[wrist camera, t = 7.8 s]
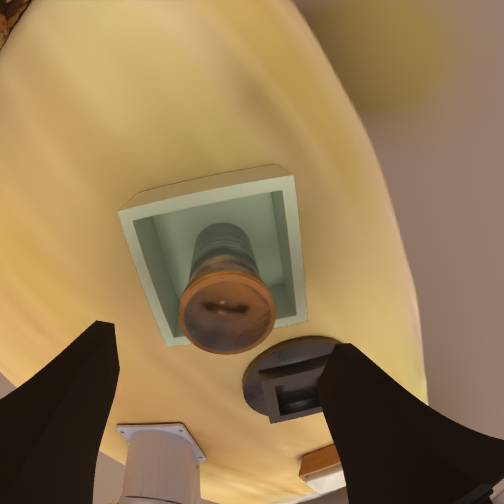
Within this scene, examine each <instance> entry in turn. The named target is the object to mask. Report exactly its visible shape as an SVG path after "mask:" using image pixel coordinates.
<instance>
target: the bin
mask: <svg viewBox="0 0 504 504" xmlns="http://www.w3.org/2000/svg"><path fill="white" fill-rule="evenodd" d="M118 215H119V218H120V221H121V225H122V228H123V231H124V235H125V238H126V241H127V244H128V247H129V250H130V253H131V256H132V259H133V262H134V265H135V268H136V270H137V273H138V276H139V279H140V281H141V284H142V287H143V289H144V292H145V295H146V297H147V300H148V302H149V305H150V307H151V310H152V312H153V315H154V317H155V320H156V322H157V325H158V327H159V329H160V332H161V334H162V336H163V338H164V341H165V343H166V345H167V347H171V346H178V345H185V344H192V342H190V341H189V340H188V338H187V337H186V336H185V335H184V333H183V331H182V329H181V326H180V323H179V309H180V303H181V297H182V294H183V292H184V290H185V288H186V286H187V285H188V283H189V276H190V270H191V264H192V258H193V252H194V246H195V242H196V239H197V237H198V235H199V234H200V233H201V231H202V230H204V229H205V228H206V227H208V226H210V225H212V224H215V223H222V222H224V223H231V224H234V225H236V226H238V227H240V228H241V229H242V230H243V231H244V232H245V233H246V234H247V236H248V238H249V240H250V244H251V247H252V250H253V253H254V257H255V260H256V263H257V267H258V270H259V273H260V277H261V279H262V280H263V281H264V282H265V284H266V285H267V287H268V288H269V291H270V293H271V296H272V299H273V302H274V305H275V309H276V320H275V324H274V327H273V329H275V328H279V327H284V326H288V325H293V324H297V323H302V322H306V321H308V319H307V304H306V291H305V278H304V267H303V256H302V245H301V235H300V225H299V216H298V207H297V199H296V190H295V182H294V175H293V174H291V173H289V172H288V171H286V170H285V169H283V168H281V167H280V166H278V165H276V164H274V165H268V166H262V167H256V168H250V169H244V170H239V171H233V172H228V173H223V174H218V175H213V176H208V177H203V178H198V179H194V180H189V181H184V182H180V183H176V184H171V185H167V186H163V187H159V188H155V189H151V190H147V191H143V192H139V193H138V194H137V195H136V196H134V197H133V198H132V199H131V200H130V201H129V202H128V203H126V204H125V205H124V206H123V207H122V208H121V209H120V210H119V211H118Z"/></svg>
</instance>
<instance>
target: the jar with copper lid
mask: <svg viewBox="0 0 504 504" xmlns="http://www.w3.org/2000/svg"><path fill="white" fill-rule="evenodd" d="M275 320H276V309H275V305H274V302H273V299H272V296H271V293H270V291H269V288H268V287H267V285H266V284H265V282H264V281H263V280H262V279H261V277H260V273H259V270H258V267H257V263H256V260H255V257H254V253H253V250H252V247H251V244H250V240H249V238H248V236H247V234H246V233H245V232H244V231H243V230H242V229H241V228H240V227H238V226H236V225H234V224H231V223H224V222H222V223H215V224H212V225H210V226H208V227H206V228H205V229H204V230H202V231H201V233H200V234H199V235H198V237H197V239H196V242H195V246H194V252H193V258H192V264H191V270H190V276H189V283H188V285H187V286H186V288H185V290H184V292H183V294H182V297H181V303H180V309H179V323H180V326H181V329H182V331H183V333H184V335H185V336H186V337H187V338H188V340H189V341H190V342H192V343H193V344H194V345H195V346H197V347H199V348H200V349H203V350H205V351H207V352H211V353H215V354H222V355H230V354H238V353H242V352H245V351H248V350H250V349H252V348H254V347H256V346H258V345H259V344H260V343H262V342H263V341H264V340H265V339H266V338H267V337H268V335H269V334H270V333H271V331H272V329H273V327H274V324H275Z"/></svg>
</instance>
